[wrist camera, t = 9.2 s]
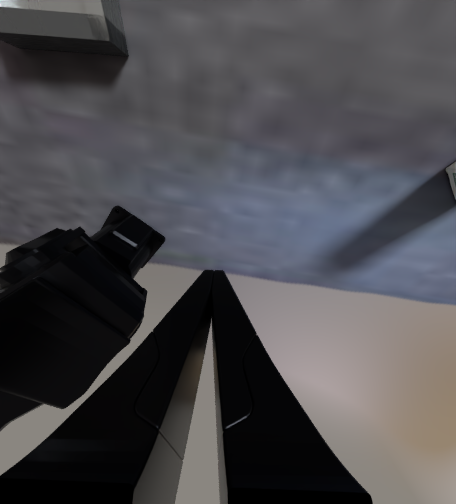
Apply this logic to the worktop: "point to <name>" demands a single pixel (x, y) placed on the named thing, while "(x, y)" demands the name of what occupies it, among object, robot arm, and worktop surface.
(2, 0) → the fader track
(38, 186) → the worktop surface
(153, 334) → the robot arm
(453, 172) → the syrup box
